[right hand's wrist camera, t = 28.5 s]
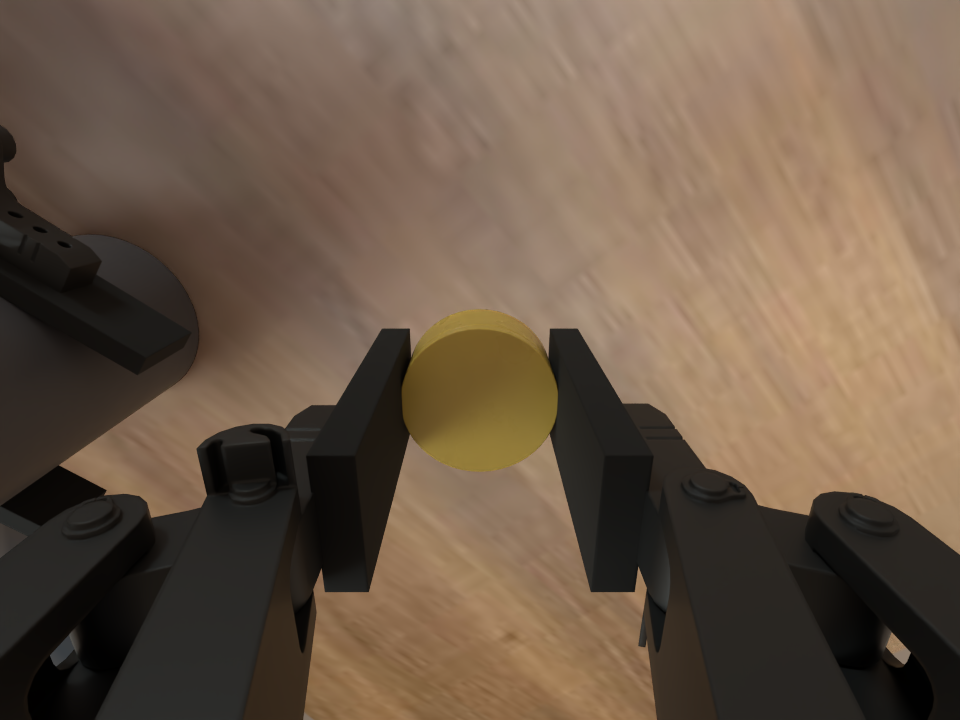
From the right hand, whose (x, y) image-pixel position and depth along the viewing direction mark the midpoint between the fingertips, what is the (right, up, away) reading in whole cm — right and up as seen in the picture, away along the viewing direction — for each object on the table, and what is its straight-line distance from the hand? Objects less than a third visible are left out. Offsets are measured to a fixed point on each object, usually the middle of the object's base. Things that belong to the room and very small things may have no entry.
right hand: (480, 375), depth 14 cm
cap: (0, -1, -2) cm, 2 cm away
